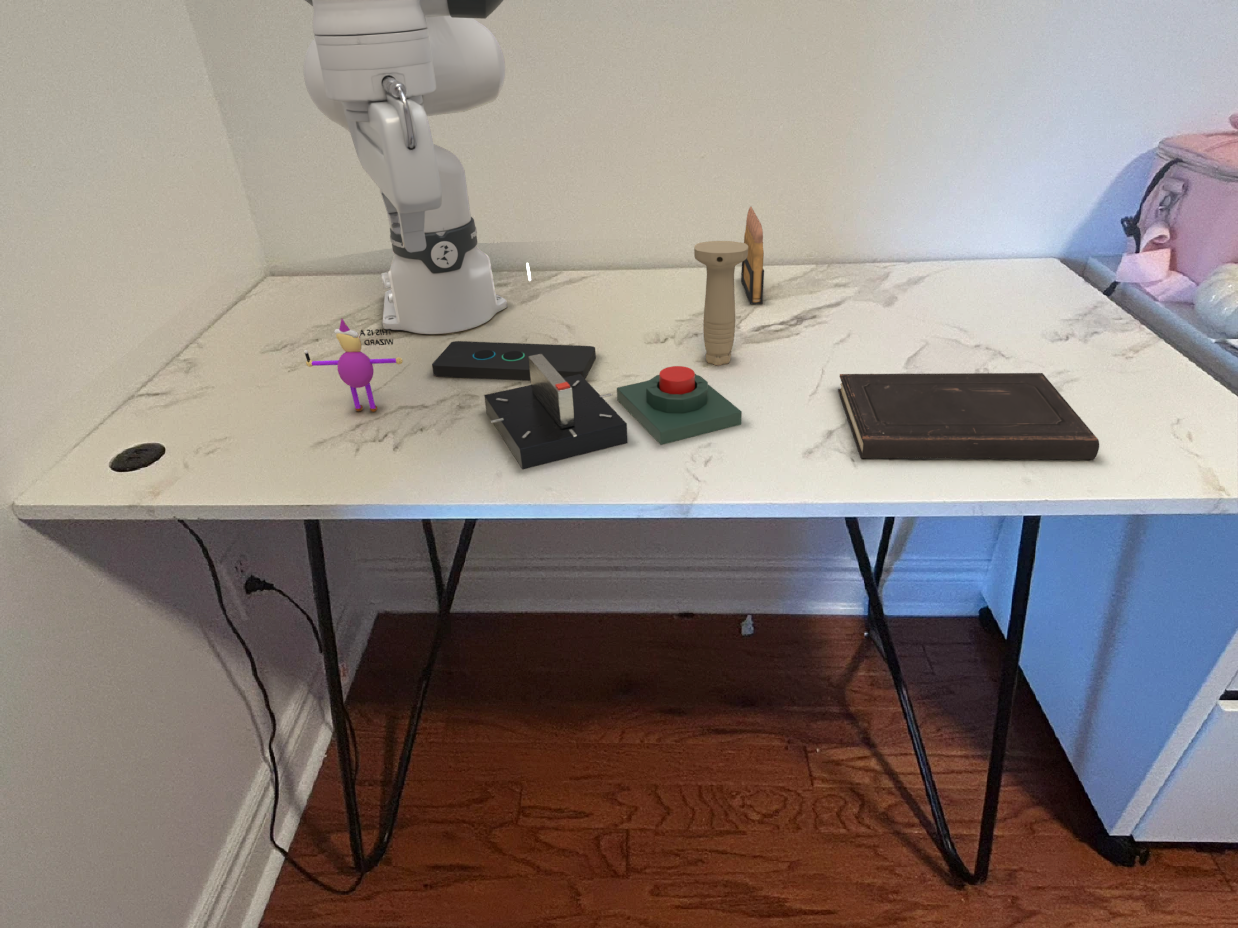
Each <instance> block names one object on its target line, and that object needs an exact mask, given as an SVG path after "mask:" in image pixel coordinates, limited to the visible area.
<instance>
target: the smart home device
mask: <svg viewBox="0 0 1238 928" xmlns="http://www.w3.org/2000/svg"><path fill="white" fill-rule="evenodd" d="M537 354H542V355H543V356H544V357H545V358H546V359H547V361H548V362H549V363H550V364H551V365H552V366H553V367H554V369H555V370H556V371H557V372H558V373H559V374H560V375H561V376H562V378H565V377H569V376H574V375H578V374H581V375H582V377H583V378H584V379H585V380H587V377H588V376H589V373H590V371H591V369H592V367H593V365H594V363H595V361H596V359H597V355H596V354H597V353H596V347H595V346H593V345H577V344H576V345H574V344H551V343H550V344H547V343H544V344H543V343H526V342H525V343H523V342H496V341H469V340H468V341H467V340H454V341H451V342H450V343H449V344H448V345H447V346H446V347H445V349H444V350H443V351H442V352H441V353H440V354H439V355H438V357H436V359H435V360H434V361H433V362H432V363H431V367H432V372H433V376H434V377H438V378H440V377H441V378H459V379H480V380H481V379H482V380H499V381H500V380H502V381H503V380H504V381H506V380H507V381H522V382H523V381H525V382H531V377H530V368H529V358H528V356H533V355H537Z"/></svg>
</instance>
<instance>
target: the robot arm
mask: <svg viewBox="0 0 1238 928" xmlns="http://www.w3.org/2000/svg"><path fill="white" fill-rule="evenodd" d="M304 1H305V2H306V3H307V4H309V5H310V6H311V7H312V10H313V11H312V12H313V13H312V14H313V15H312V33H313V37H314V38H313V39H312V41H311V42H310V44H309V45H308V47H307V49H306V51H305V55H304V59H303V65H302V66H303V69H302V70H303V71H302V73H303V80H304V85H305V87H306V90H307V93H308V95H309V97H310V99H311V100H312V102H313V104H314V106H315V107H316V108H317V109H318V110H319V111H320V112H321V113H322V115H324V116H325V117H326V118H327V119H328V120H331V121H332V122H334V123H335V124H337V125H339V126H341V127H342V128H343V129H345V130H346V131H347V132H349V133H350V136H351V139H352V144H353V146H354V150H355V153H356V156H357V158H358V161H359V164H360V166H361V168H362V170H364V172H365V173H366V175H368V176H369V177H370V179H371V180H372V181H373V182H374V184H375V185H376V186H377V188H378V189H379V192H380V196H381V198H382V202H383V205H384V209H385V211H386V214H387V220H388V225H389V233H390V234H389V239H390V240H389V241H390V243H391V248H392V252H393V253H394V255H393V257H392V260H391V264H390V267H389V268H390V269H389V270H388V271H386V272H382V273H380V277H381V282H382V283H381V284H382V287H383V289H388V290H386V291H385V292H384V298H383V299H384V300H383V312H382V329H383V330H386V329H391V330H390V331H405V332H410V333H414V334H421V335H422V334H423V335H443V334H452V333H458V332H463V331H467V330H470V329H474V328H476V327H479V326H481V325H484V324H485V323H487V322H489V321H490V320H491V319H492V318H493V317H494V316H495V315H496V314H497V313H499V312H501V311H503V310H505V309H506V308H507V307H509V306H508V301H507V299H506V298H504V297H503V296H501V295H499V294H497V292H496V286H495V283H494V282H495V281H494V275H493V271H492V265H491V258H490V256H489V255H488V254H486V252H484V251H483V250H482V249H480V248H479V247H478V246H477V245H478V243H479V242H478V231H477V226H476V222H475V219H474V217H472V214H471V208H470V200H469V192H468V184H467V177H466V170H465V167H464V165H463V164H462V161H461V160H460V159H459V157H458V156H457V155H456V154H455V153H453V152H452V151H450V150H448V149H446V148H444V147H443V146H440V145H437V144H435V143H434V140H433V136H432V130H431V126H430V121H429V118H428V117H433V116H443V115H451V114H459V113H465V112H468V111H471V110H474V109H477V108H480V107H482V106H485V105H488V104H491V103H493V102H495V101H496V100H497V98H498V96H499V95H500V93H501V91H502V89H503V86H504V83H505V78H506V61H505V56H504V52H503V50H502V47H501V45H500V43H499V41H498V39H497V38H496V36H495V35H494V34H493V33H492V31H491V30H490V29H489V28H488V27H486V26H485V25H484V24H483V23H481V22H479V21H478V20H477V19H482V20H485V19H487V18H488V17H489V16H490V15H491V14H493V12H495V11H496V10H497V9H498V7H499V6H500V5H502V3H503V2H504V0H304ZM525 265H526V271H527V278H528V281H529V282H531V281H532V277H531V270H530V265H529V262H526V264H525Z"/></svg>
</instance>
